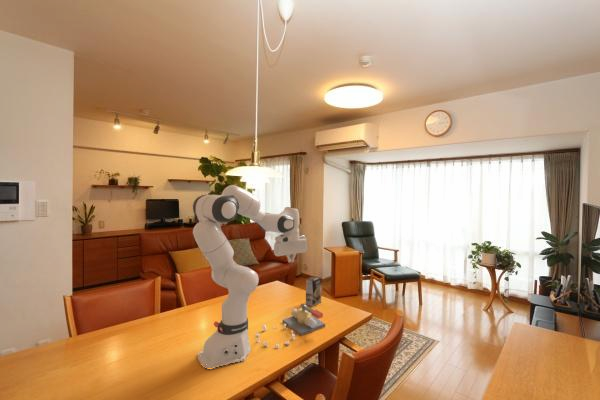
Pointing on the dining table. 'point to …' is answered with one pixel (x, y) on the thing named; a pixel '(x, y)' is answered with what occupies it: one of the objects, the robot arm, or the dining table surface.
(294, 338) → the game piece set
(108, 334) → the dining table surface
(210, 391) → the dining table surface
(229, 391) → the dining table surface
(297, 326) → the valve base
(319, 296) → the coffee box
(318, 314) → the valve lever
